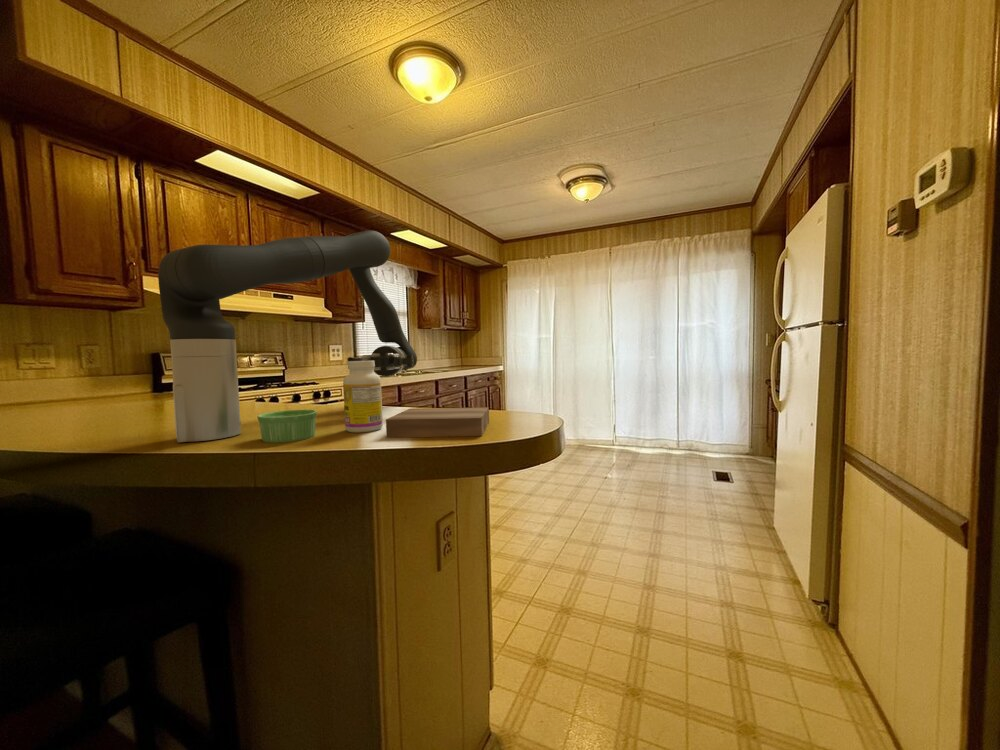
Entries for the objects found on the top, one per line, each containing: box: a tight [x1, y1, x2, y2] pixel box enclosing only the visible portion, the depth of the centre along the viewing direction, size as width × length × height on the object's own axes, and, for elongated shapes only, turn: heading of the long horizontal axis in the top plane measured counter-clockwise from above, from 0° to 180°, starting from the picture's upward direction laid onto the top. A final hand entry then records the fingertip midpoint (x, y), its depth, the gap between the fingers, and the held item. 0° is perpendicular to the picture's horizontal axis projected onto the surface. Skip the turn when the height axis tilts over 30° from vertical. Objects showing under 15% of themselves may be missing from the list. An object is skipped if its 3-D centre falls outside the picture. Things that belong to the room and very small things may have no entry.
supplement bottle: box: [342, 361, 384, 434], centre depth 73 cm, size 7×7×13 cm
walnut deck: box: [385, 406, 490, 438], centre depth 71 cm, size 13×16×3 cm
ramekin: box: [257, 409, 318, 444], centre depth 67 cm, size 9×9×4 cm
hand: (375, 362), depth 84 cm, fingers open, 8 cm apart
